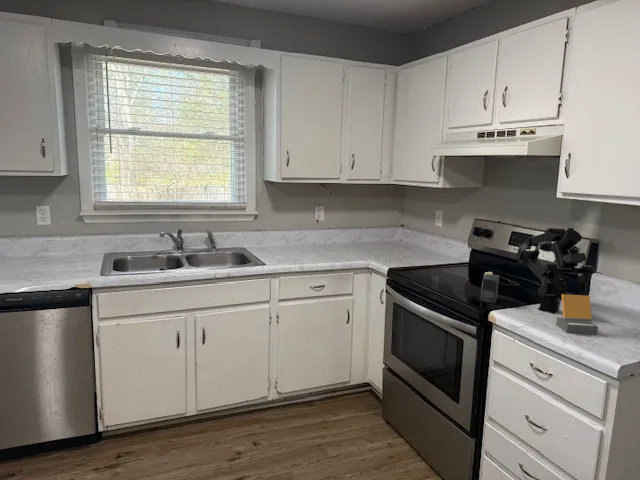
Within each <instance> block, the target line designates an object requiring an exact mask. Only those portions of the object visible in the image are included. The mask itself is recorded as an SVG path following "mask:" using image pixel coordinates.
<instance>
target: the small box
mask: <svg viewBox="0 0 640 480" xmlns="http://www.w3.org/2000/svg"><path fill="white" fill-rule="evenodd" d="M484 275H485V276H484ZM484 275H483V278H482V284H481V290H480V291H481V293H480V302H483V303H490V304H495V305H496V303H497V299H498V296H499V295H498V294H499V293H498V292H499V284H500V283H499V281H500V278H499V276H500V275H498V274H494V275H491V274H485V273H484Z"/></svg>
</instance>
